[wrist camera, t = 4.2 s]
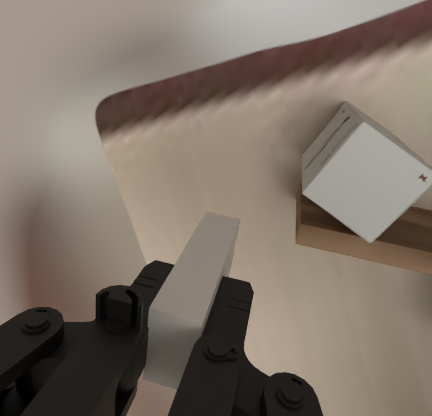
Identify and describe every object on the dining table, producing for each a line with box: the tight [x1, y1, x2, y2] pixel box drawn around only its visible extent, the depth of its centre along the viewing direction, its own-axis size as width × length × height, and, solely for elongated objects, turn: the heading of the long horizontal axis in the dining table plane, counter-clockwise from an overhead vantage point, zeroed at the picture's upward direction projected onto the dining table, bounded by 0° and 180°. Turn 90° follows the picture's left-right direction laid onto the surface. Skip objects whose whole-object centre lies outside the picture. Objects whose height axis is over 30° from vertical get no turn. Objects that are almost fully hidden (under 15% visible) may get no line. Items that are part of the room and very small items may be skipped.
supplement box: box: [302, 101, 432, 243], centre depth 33 cm, size 7×7×13 cm
